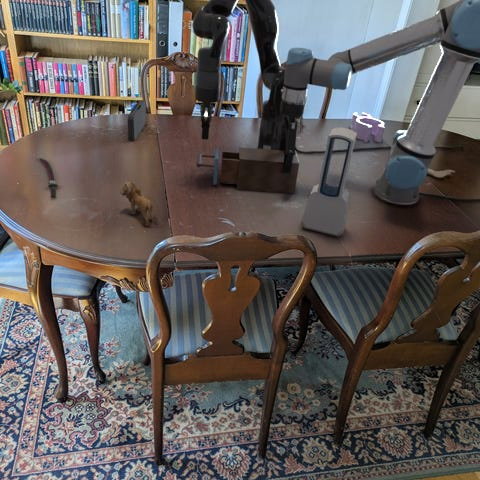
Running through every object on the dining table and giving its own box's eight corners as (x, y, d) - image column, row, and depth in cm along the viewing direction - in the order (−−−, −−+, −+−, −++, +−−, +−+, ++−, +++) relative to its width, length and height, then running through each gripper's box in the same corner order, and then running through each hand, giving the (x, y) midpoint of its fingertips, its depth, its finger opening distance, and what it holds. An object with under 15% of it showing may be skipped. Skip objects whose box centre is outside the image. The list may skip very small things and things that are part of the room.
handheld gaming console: (139, 121, 202) (139, 98, 197) (146, 122, 202) (145, 99, 197) (127, 140, 183) (126, 115, 178) (134, 141, 183) (133, 116, 178)
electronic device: (344, 227, 141) (368, 132, 125) (340, 239, 135) (365, 141, 119) (304, 217, 144) (322, 123, 128) (299, 229, 138) (317, 131, 122)
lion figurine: (118, 210, 138) (116, 182, 133) (132, 204, 141) (131, 177, 137) (151, 229, 130) (150, 201, 126) (165, 223, 134) (165, 195, 129)
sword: (61, 197, 141) (61, 193, 140) (50, 198, 139) (50, 194, 139) (49, 160, 164) (48, 156, 163) (39, 160, 163) (39, 157, 162)
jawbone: (446, 183, 178) (448, 178, 177) (396, 166, 188) (397, 162, 187) (454, 175, 183) (456, 170, 182) (405, 159, 194) (406, 154, 193)
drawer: (195, 183, 156) (196, 157, 151) (197, 172, 163) (198, 147, 158) (267, 188, 157) (271, 163, 152) (265, 177, 165) (269, 152, 160)
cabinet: (236, 189, 157) (239, 158, 151) (236, 176, 165) (238, 147, 159) (294, 193, 158) (299, 163, 152) (290, 180, 166) (295, 151, 161)
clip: (343, 126, 223) (346, 112, 219) (367, 127, 225) (371, 113, 221) (360, 142, 206) (364, 127, 202) (386, 142, 209) (390, 127, 205)
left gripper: (196, 78, 148) (194, 130, 157) (194, 89, 137) (192, 145, 146) (220, 80, 148) (216, 132, 158) (219, 91, 137) (216, 147, 147)
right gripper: (277, 89, 156) (270, 149, 168) (285, 112, 135) (276, 179, 147) (299, 91, 157) (290, 150, 168) (311, 114, 136) (300, 180, 147)
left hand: (205, 138), depth 152 cm, fingers closed
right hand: (284, 164), depth 157 cm, fingers open, 13 cm apart
